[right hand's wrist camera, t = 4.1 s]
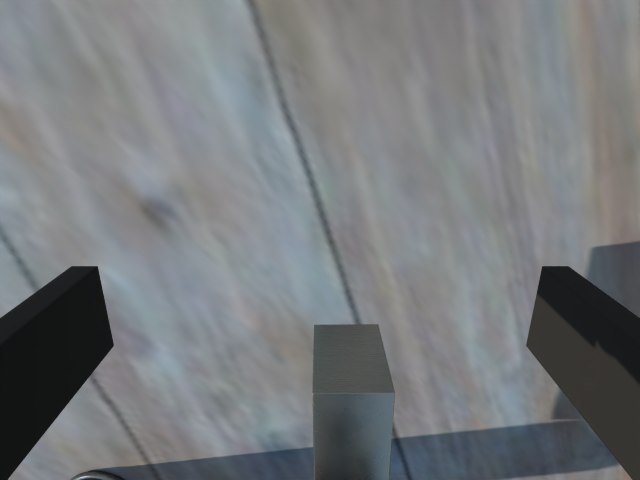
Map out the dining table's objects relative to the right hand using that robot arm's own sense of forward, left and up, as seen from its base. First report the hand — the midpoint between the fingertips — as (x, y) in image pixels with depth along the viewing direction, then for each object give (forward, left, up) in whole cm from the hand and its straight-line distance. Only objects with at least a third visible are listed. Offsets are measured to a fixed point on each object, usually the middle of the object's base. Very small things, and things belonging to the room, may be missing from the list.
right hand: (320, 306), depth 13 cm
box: (+17, +20, -22) cm, 34 cm away
